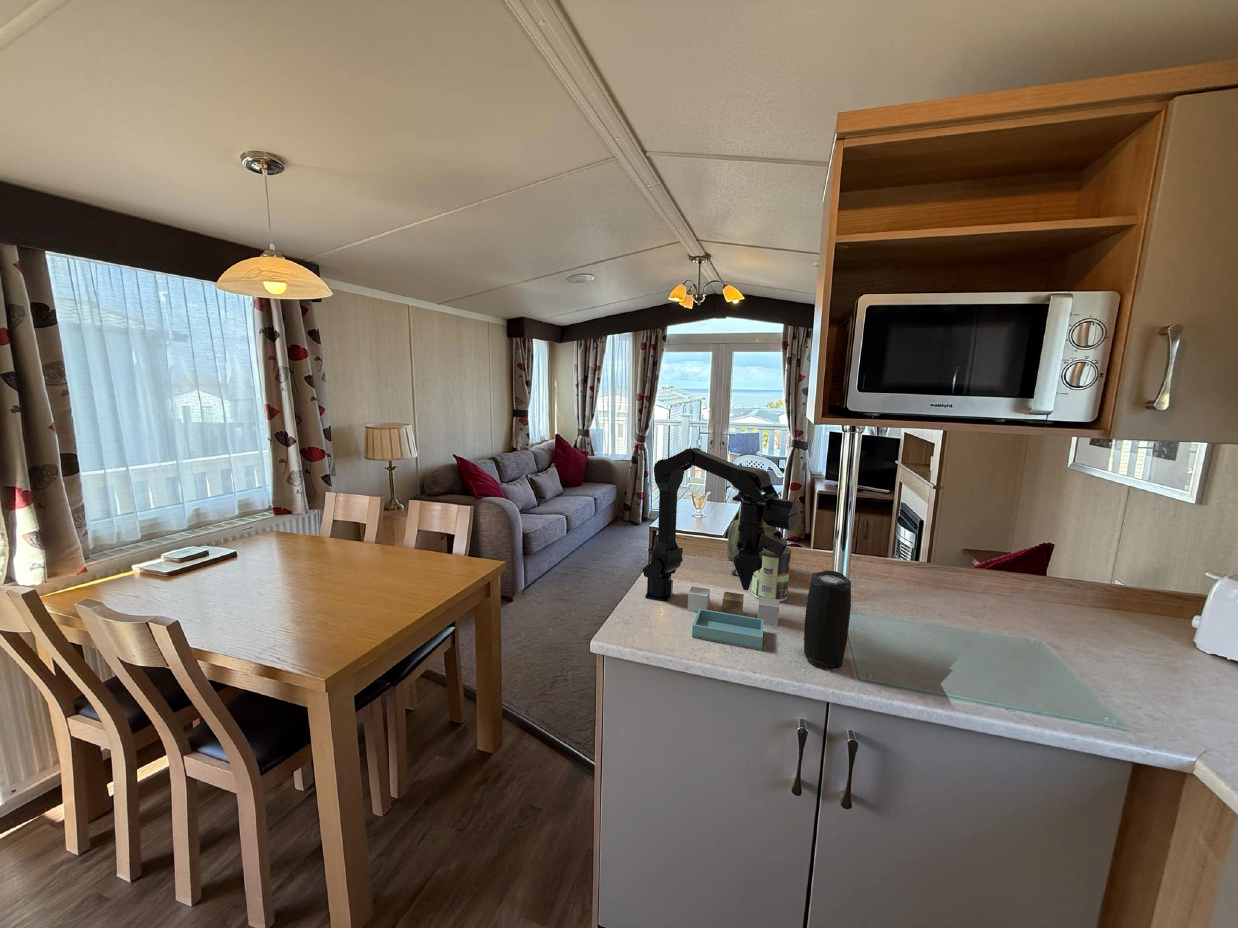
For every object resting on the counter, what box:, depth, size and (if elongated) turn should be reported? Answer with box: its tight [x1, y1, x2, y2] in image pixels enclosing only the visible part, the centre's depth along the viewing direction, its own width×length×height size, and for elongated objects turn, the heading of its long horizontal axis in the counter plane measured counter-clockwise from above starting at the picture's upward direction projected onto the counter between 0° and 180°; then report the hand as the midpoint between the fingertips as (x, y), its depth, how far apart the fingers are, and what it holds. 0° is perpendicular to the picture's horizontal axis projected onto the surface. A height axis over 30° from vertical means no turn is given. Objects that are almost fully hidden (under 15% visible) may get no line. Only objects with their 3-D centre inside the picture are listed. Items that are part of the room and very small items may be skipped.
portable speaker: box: [803, 569, 852, 670], centre depth 105 cm, size 9×9×20 cm
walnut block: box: [721, 591, 745, 616], centre depth 128 cm, size 5×5×5 cm
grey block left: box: [687, 586, 711, 613], centre depth 130 cm, size 5×5×5 cm
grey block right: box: [757, 597, 780, 627], centre depth 125 cm, size 5×5×5 cm
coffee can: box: [750, 546, 792, 603], centre depth 140 cm, size 10×10×14 cm
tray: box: [691, 609, 764, 651], centre depth 117 cm, size 16×10×3 cm, turn 72°
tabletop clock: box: [726, 518, 777, 576], centre depth 155 cm, size 14×9×25 cm, turn 130°
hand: (746, 582), depth 119 cm, fingers open, 9 cm apart
